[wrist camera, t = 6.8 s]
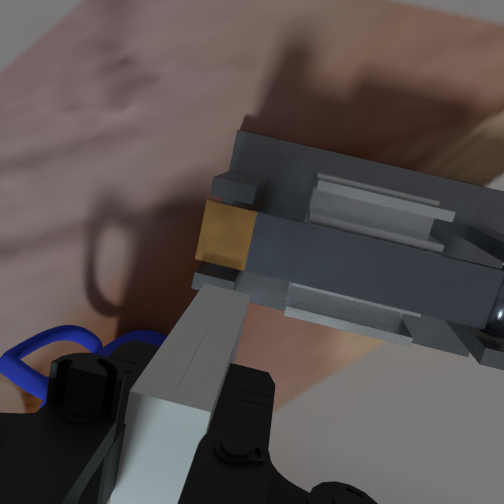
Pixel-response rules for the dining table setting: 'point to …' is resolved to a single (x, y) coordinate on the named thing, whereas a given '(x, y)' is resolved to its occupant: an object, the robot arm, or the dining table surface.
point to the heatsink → (366, 224)
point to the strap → (354, 266)
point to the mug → (33, 379)
